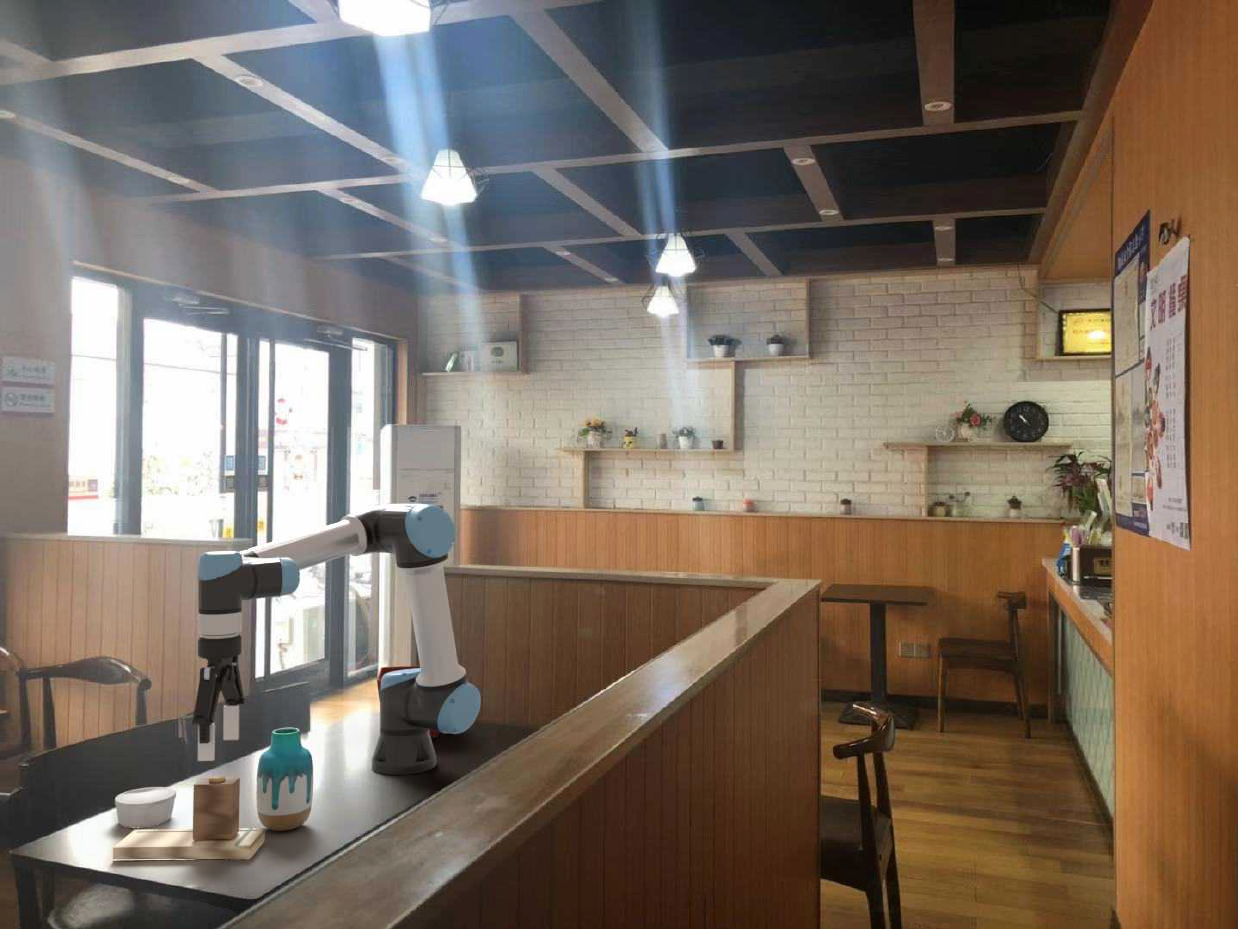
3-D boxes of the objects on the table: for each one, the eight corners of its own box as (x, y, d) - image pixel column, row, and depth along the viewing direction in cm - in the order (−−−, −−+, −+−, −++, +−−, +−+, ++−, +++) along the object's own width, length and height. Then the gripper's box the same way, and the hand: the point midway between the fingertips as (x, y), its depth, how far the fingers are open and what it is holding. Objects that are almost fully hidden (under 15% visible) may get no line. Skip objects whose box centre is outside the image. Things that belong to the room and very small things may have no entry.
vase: (280, 842, 185) (281, 740, 185) (244, 831, 191) (245, 732, 191) (324, 825, 194) (325, 729, 194) (288, 815, 200) (290, 721, 200)
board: (264, 841, 185) (264, 827, 185) (249, 859, 176) (250, 845, 176) (134, 843, 184) (134, 829, 184) (112, 861, 175) (113, 847, 175)
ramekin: (160, 808, 204) (160, 782, 204) (186, 820, 197) (186, 794, 197) (104, 822, 195) (104, 795, 195) (129, 835, 188) (130, 807, 188)
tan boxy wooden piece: (244, 824, 186) (245, 769, 186) (231, 839, 179) (232, 781, 179) (207, 825, 186) (208, 769, 186) (192, 839, 178) (193, 781, 178)
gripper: (221, 624, 193) (221, 732, 193) (173, 647, 168) (172, 770, 168) (260, 624, 194) (259, 731, 194) (217, 646, 169) (216, 769, 169)
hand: (219, 749), depth 181 cm, fingers open, 13 cm apart
